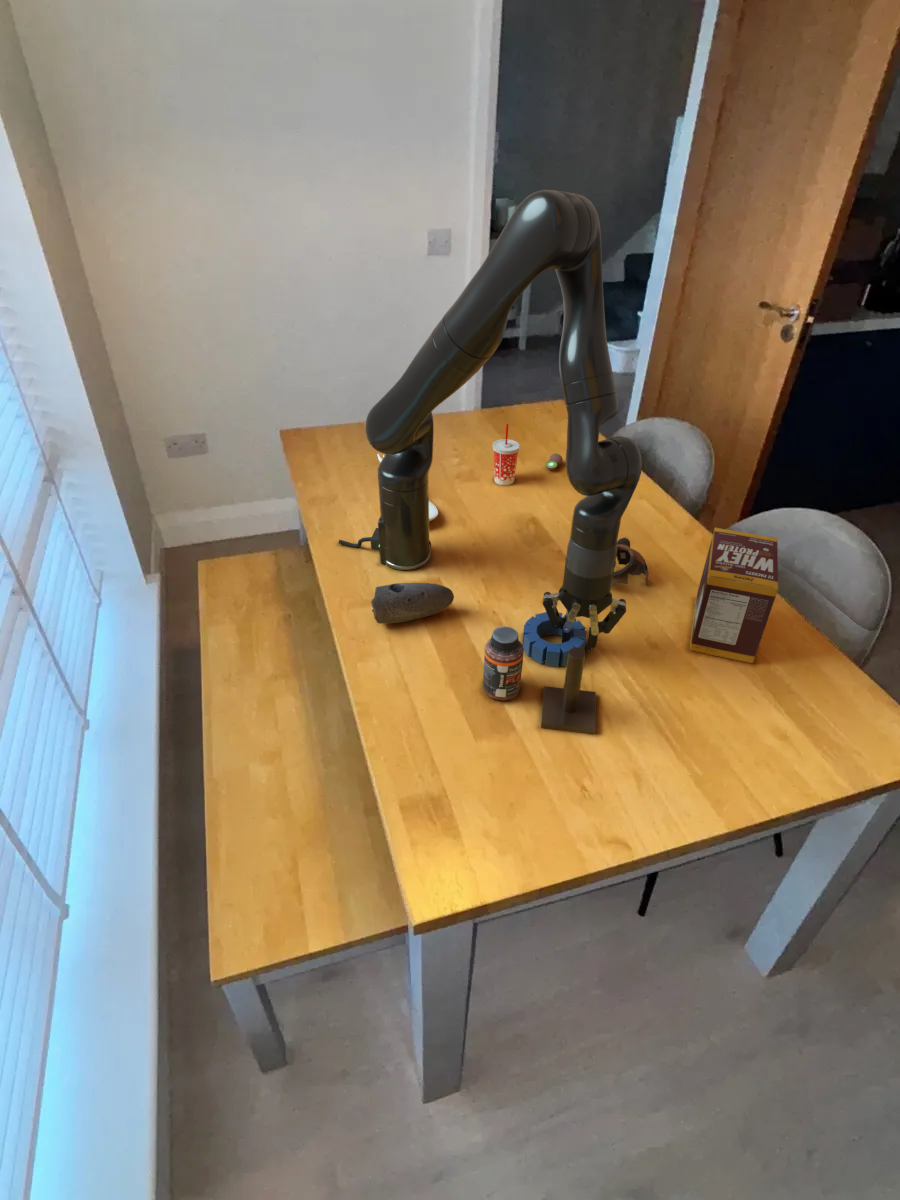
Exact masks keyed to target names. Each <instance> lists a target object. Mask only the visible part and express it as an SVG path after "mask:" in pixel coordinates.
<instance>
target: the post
mask: <svg viewBox="0 0 900 1200" xmlns="http://www.w3.org/2000/svg"><path fill="white" fill-rule="evenodd" d="M585 660H586V651H584V650H583V649H581V648H572V649H570V650H569V653H568V660H567V665H566V666H565V667H566V669H565V676H564V684H563V687H556V686H549V685H548V686H547V685H544V687H543V693H542V707H541V718H540V728H541V729H548V730H559V731H565V732H574V733H584V734H589V735H591V734H592V735H595V734H596V730H597V729H596V728H597V727H596V726H597V723H596V722H597V721H596V720H597V719H596V716H597V715H596V713H597V712H596V711H597V709H596V708H597V703H596V701H597V700H596V699H597V698H596V697H597V695H596V694H597V692H596V691H594V690H593V691H591V690H584V689H583V690H582V689H581V685H582V679H583V673H584V667H585Z"/></svg>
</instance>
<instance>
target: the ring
mask: <svg viewBox="0 0 900 1200" xmlns="http://www.w3.org/2000/svg"><path fill="white" fill-rule="evenodd" d="M559 614H560V617H562V618H564V617H565V615H566V614H564V615H563V612H559ZM547 635H558V636H561V637H562V629H560V628H557V629H555V628H553V626H552V624H551V622H550V619H549V617H548V615H547V612H546V611H544V612H541V613H537V614H535V615H534V616H533V615H532V616H531V617H530V618H528V619H527V620H526V621H525V623H524V624H523V632H522V642H521V644H522V645H523V649H524V653H525V654H526V656H527V657H530V659H531V660H532V661H534V662H536V663H537V664H541V665H543V664H544V663H545V667H556V668H559V665H560V666H561V667H567V660H568V653H569V650H570V649H572V648H581V649H583V650H584V651H585V650H586V645H587V630H586V626H585V625H583V623H582V622H581V620H577V618H576V619H575V621H574V623H573V625H572V628H571V639H570V640H569V641H567V642H564V643H561V642H560V643H557V642H549V641H547V640H544V639H543V638H541V637H542V636H547ZM585 652H586V651H585Z"/></svg>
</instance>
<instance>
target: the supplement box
mask: <svg viewBox="0 0 900 1200" xmlns="http://www.w3.org/2000/svg"><path fill="white" fill-rule="evenodd" d="M778 559H779V558H778V538H777V537H774V536H773V537H772V536H765V535H761V534H760V535H759V534H755V533H748V532H743V531H738V530H731V529H726V528H720V527H714V529H713V533H712V537H711V539H710V543H709V548H708V551H707V555H706V559H705V562H704V567H703V570H702V572H701V573H702V574H701V577H700V581H699V584H698V588H697V592H696V597H695V602H694V607H693V609H694V610H693V617H692V625H691V633H690V641H689V642H690V643H689V651H691V652H697V653H701V654H702V653H703V654H706V655H710V656H715V657H720V658H725V659H730V660H734V661H739V662H743V663H748V664H754V661H755V658H756V655H757V653H758V649H759V647H760V644H761V641H762V638H763V635H764V632H765V630H766V627H767V624H768V620H769V617H770V616H771V615H770V614H771V612H772V608H773V606H774V602H775V600H776V598H777V595H778V591H779V572H778V571H779V567H778V566H779V564H778Z"/></svg>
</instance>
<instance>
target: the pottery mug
mask: <svg viewBox="0 0 900 1200" xmlns="http://www.w3.org/2000/svg"><path fill="white" fill-rule="evenodd" d="M616 561H617V562H618V563H617V564H618V565H622V566H623V565H624V566H625V567H624V568H622V569H620V570H616V571H614V574H613V580H612V585H618V584H624V585H627V586H629V575H631V576H641V575H642V574H643V575H644V580H645V586H649V583H650V579H649V578H650V576H649V575H650V574H649V573H650V572H649V567H648V564H647V561H646V559H645V557H643V555H642V554H641V553H640V552H639V551H638V550H636V549H634V548H631V541H630V540H629V538H627V537H622V538H621V537H620V538H618V540H617V556H616Z"/></svg>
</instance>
